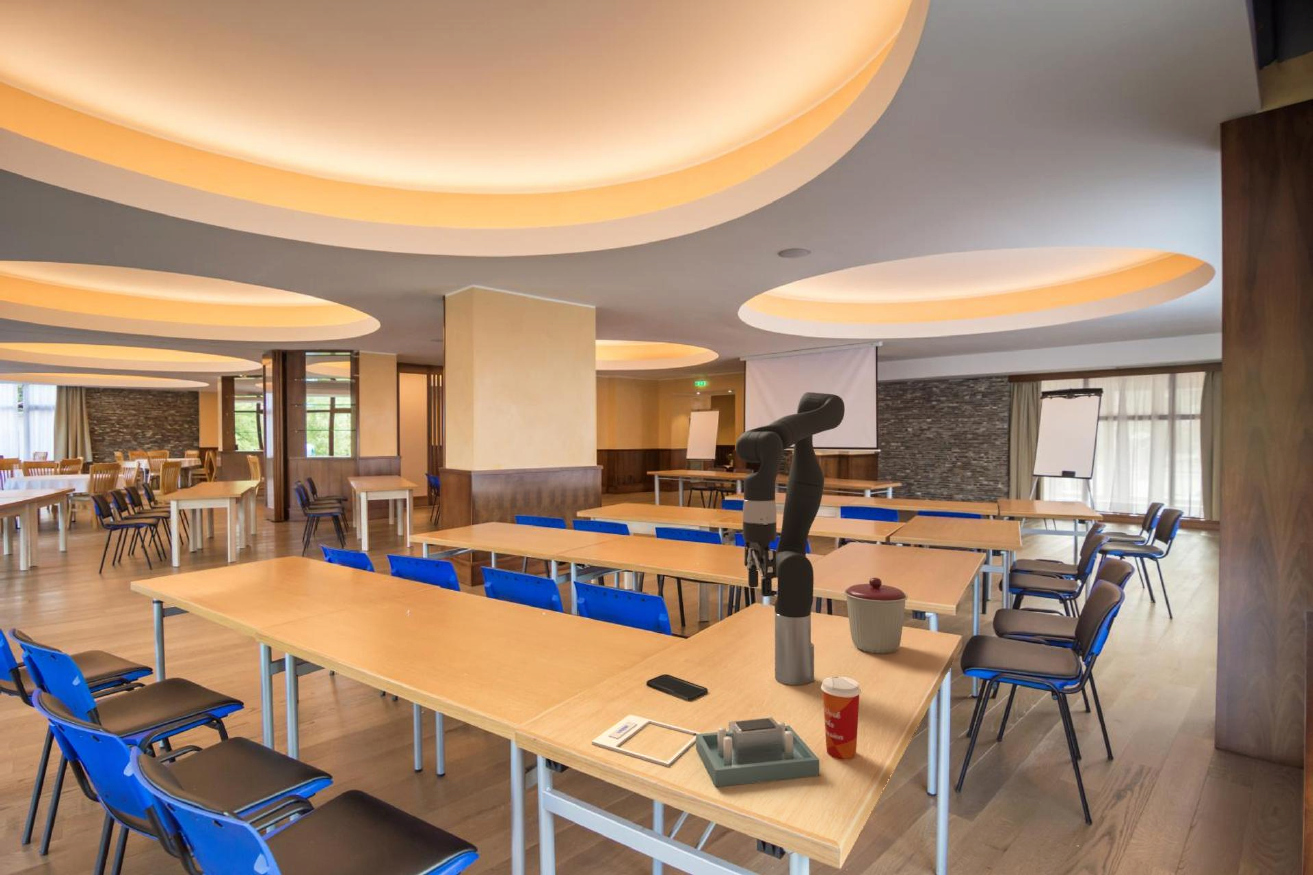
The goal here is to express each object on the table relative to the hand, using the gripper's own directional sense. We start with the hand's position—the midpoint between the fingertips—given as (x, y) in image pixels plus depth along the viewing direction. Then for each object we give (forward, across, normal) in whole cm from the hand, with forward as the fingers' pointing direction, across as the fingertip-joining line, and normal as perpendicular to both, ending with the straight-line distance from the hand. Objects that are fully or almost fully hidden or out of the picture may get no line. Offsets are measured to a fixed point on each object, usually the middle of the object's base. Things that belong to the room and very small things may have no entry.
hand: (759, 591), depth 141 cm
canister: (+28, -37, +50) cm, 68 cm away
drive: (+27, +19, -8) cm, 34 cm away
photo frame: (+29, +6, -27) cm, 40 cm away
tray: (+28, +19, -8) cm, 35 cm away
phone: (+29, -19, -15) cm, 38 cm away
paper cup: (+28, +19, +10) cm, 36 cm away
